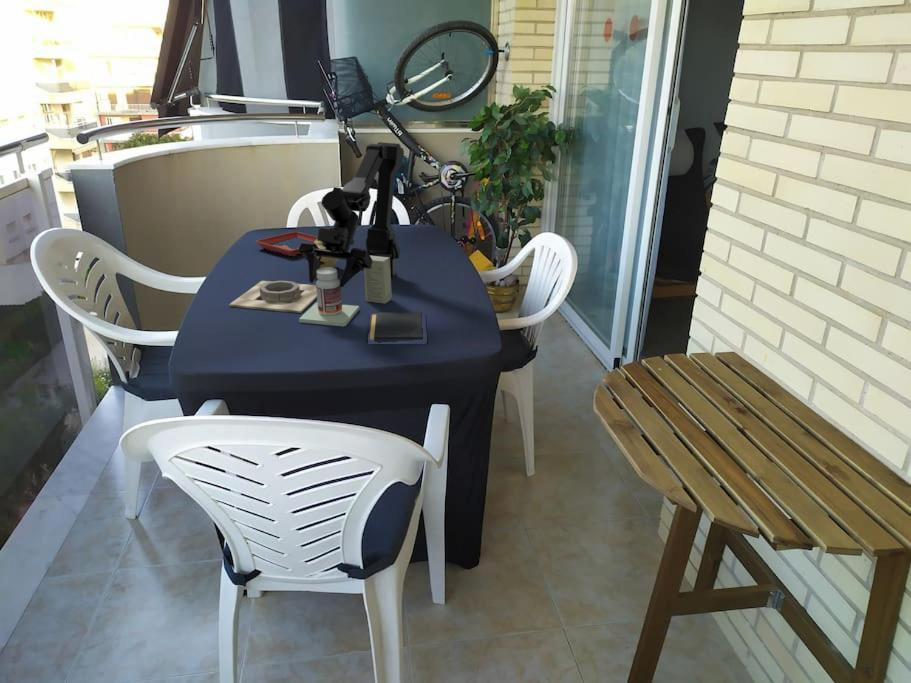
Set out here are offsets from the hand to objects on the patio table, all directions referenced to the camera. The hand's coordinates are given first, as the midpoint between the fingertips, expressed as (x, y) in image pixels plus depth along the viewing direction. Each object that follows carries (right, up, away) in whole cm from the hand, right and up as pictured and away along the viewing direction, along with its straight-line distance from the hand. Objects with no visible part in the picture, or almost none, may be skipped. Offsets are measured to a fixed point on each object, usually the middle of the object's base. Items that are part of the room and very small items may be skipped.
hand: (325, 284), depth 163 cm
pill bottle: (0, -7, +5) cm, 8 cm away
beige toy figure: (-9, +8, +40) cm, 41 cm away
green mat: (0, -8, +5) cm, 9 cm away
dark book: (+18, -12, -1) cm, 22 cm away
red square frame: (-23, +17, +60) cm, 67 cm away
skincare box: (+11, -3, +16) cm, 20 cm away
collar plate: (-16, -2, +16) cm, 23 cm away
